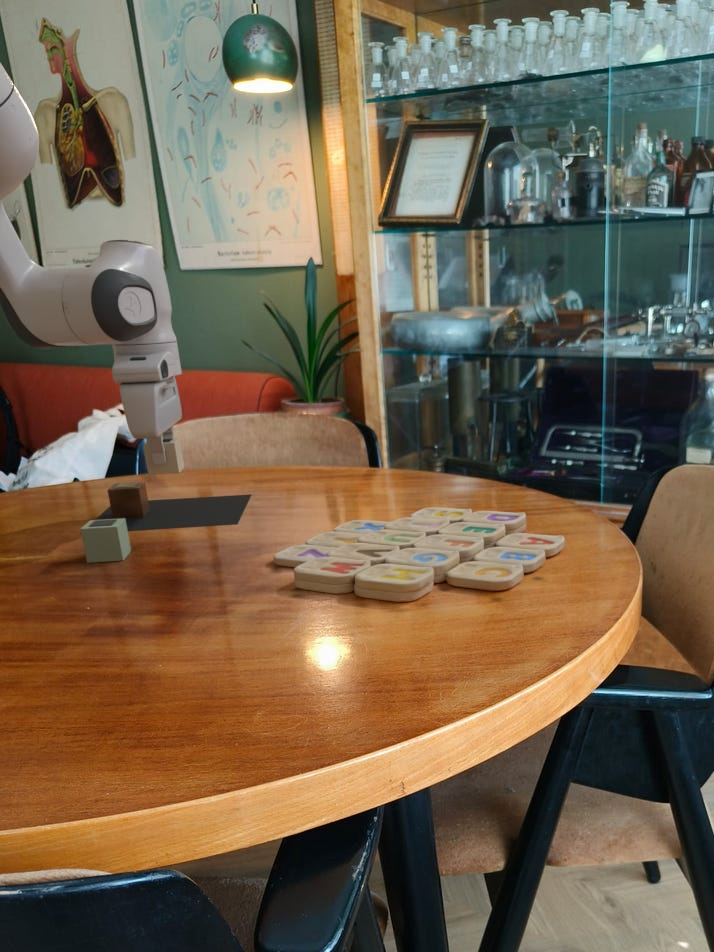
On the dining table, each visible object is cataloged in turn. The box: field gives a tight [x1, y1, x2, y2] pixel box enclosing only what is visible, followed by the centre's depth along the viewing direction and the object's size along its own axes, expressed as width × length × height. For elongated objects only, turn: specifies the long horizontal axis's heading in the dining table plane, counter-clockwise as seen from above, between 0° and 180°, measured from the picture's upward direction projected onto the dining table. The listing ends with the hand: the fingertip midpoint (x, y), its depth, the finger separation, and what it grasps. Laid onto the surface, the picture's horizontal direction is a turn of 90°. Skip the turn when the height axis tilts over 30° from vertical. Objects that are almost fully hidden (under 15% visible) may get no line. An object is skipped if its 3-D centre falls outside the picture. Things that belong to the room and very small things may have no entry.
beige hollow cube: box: [142, 437, 185, 476], centre depth 132 cm, size 4×4×5 cm
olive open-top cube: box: [80, 518, 132, 564], centre depth 114 cm, size 4×4×5 cm
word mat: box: [79, 494, 253, 535], centre depth 136 cm, size 22×20×1 cm
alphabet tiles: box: [272, 506, 566, 603], centre depth 111 cm, size 33×33×2 cm
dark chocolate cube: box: [107, 481, 150, 519], centre depth 134 cm, size 4×4×5 cm
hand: (164, 460), depth 133 cm, fingers closed on beige hollow cube, 4 cm apart
